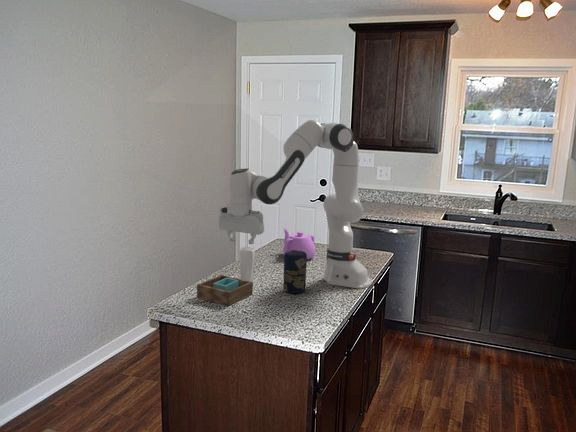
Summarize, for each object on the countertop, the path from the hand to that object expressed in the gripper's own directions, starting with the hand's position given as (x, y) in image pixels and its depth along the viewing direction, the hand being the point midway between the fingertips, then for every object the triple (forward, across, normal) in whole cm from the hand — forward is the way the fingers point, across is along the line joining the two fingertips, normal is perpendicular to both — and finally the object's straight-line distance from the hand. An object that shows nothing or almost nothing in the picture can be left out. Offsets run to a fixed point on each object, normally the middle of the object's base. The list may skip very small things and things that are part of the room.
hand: (241, 242), depth 204 cm
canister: (+23, -17, -14) cm, 32 cm away
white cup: (+22, +7, -13) cm, 27 cm away
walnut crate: (+21, +3, +8) cm, 23 cm away
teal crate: (+20, +3, +7) cm, 22 cm away
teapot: (+24, +9, -63) cm, 68 cm away
